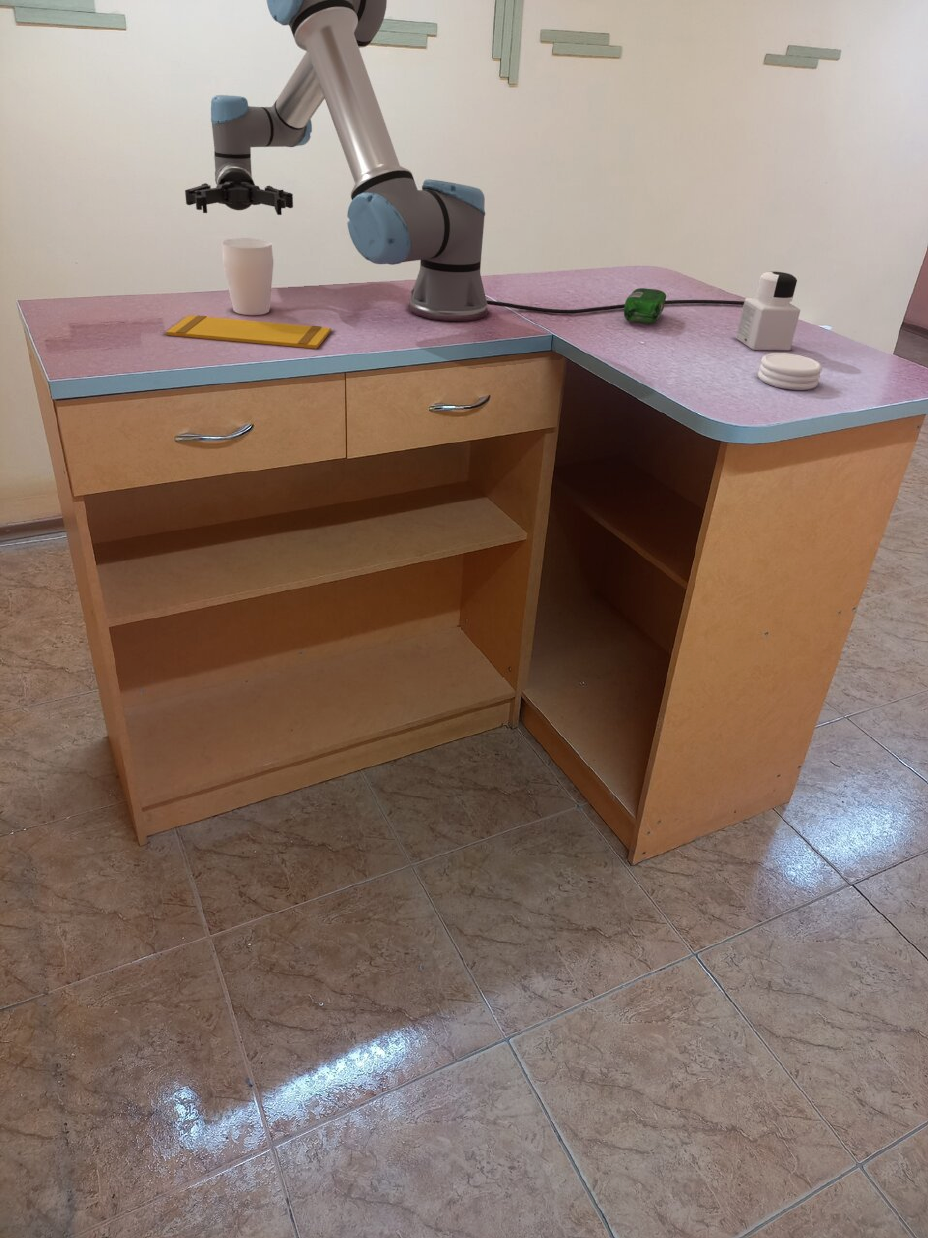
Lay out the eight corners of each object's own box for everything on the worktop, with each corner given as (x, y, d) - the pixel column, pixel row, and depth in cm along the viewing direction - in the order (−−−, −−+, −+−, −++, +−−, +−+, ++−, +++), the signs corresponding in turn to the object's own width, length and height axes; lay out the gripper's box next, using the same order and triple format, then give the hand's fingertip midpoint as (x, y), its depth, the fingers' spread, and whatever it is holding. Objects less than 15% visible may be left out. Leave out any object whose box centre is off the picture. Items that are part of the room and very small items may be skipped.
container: (772, 339, 175) (789, 269, 168) (790, 350, 169) (809, 278, 162) (735, 338, 174) (751, 268, 166) (752, 350, 167) (769, 277, 160)
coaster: (814, 395, 147) (820, 374, 145) (752, 383, 150) (758, 363, 148) (819, 378, 155) (825, 358, 153) (761, 368, 158) (766, 348, 156)
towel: (330, 331, 161) (330, 327, 160) (316, 348, 151) (316, 344, 151) (188, 318, 162) (188, 314, 161) (166, 335, 153) (165, 330, 152)
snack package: (618, 326, 176) (622, 299, 173) (631, 307, 188) (636, 282, 185) (653, 332, 174) (659, 304, 171) (665, 313, 187) (670, 287, 184)
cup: (270, 318, 165) (266, 249, 158) (221, 315, 165) (215, 245, 158) (280, 306, 172) (276, 239, 166) (233, 303, 172) (228, 236, 166)
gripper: (298, 208, 189) (310, 228, 172) (175, 205, 183) (174, 226, 166) (297, 169, 185) (308, 186, 168) (170, 164, 179) (170, 181, 162)
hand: (242, 206), depth 167 cm, fingers open, 13 cm apart
